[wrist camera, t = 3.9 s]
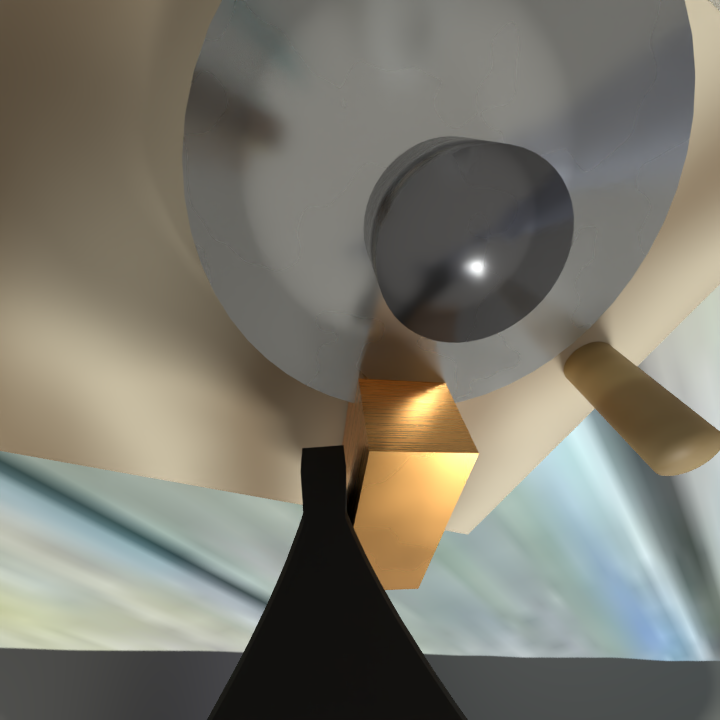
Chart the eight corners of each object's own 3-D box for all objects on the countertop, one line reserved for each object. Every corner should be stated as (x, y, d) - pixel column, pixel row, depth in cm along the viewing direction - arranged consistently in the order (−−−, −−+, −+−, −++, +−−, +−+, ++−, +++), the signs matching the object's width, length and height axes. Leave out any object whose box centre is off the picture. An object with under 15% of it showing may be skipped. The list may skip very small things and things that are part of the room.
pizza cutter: (157, -218, 5) (-75, -702, 2) (766, -48, 6) (1138, -184, 4) (229, 490, 13) (204, 597, 10) (489, 490, 15) (532, 583, 12)
